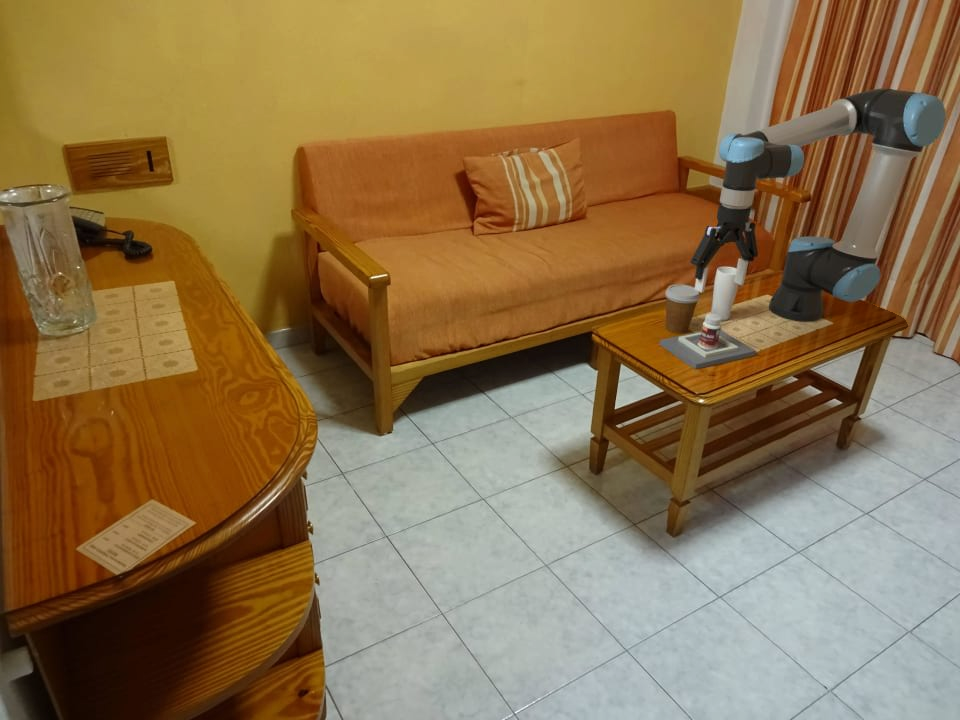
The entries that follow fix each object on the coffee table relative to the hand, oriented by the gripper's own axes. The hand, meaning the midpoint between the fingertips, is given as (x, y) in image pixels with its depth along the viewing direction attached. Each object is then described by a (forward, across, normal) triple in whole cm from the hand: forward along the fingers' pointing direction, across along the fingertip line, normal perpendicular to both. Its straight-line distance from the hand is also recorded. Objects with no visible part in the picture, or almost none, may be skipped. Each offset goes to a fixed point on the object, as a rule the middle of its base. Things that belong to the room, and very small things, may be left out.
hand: (719, 287), depth 175 cm
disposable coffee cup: (+19, -1, -14) cm, 23 cm away
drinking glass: (+19, -18, -16) cm, 30 cm away
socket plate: (+18, 0, 0) cm, 18 cm away
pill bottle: (+17, 0, 0) cm, 17 cm away
